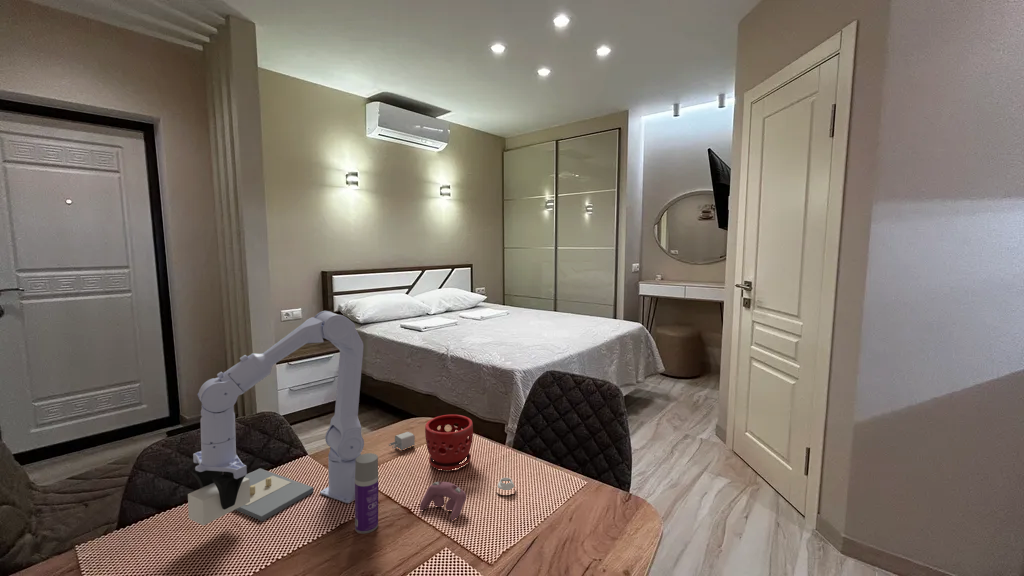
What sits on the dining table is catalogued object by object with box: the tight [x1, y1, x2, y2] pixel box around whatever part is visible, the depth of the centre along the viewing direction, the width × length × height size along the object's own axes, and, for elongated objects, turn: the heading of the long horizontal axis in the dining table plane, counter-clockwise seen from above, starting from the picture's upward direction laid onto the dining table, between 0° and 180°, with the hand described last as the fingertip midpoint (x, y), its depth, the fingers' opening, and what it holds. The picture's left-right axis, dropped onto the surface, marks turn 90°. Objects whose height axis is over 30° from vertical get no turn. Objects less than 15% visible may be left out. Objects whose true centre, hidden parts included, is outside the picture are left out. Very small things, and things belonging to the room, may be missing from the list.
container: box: [354, 452, 379, 534], centre depth 88 cm, size 5×5×15 cm
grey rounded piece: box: [497, 477, 515, 490], centre depth 103 cm, size 5×3×5 cm
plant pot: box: [424, 414, 474, 470], centre depth 116 cm, size 13×13×12 cm
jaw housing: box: [187, 477, 250, 527], centre depth 85 cm, size 5×9×5 cm, turn 155°
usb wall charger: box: [388, 431, 416, 450], centre depth 125 cm, size 4×7×4 cm, turn 137°
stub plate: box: [234, 467, 314, 522], centre depth 99 cm, size 20×13×3 cm, turn 65°
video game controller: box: [419, 481, 467, 521], centre depth 95 cm, size 10×5×7 cm, turn 66°
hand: (220, 503), depth 85 cm, fingers closed on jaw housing, 5 cm apart
